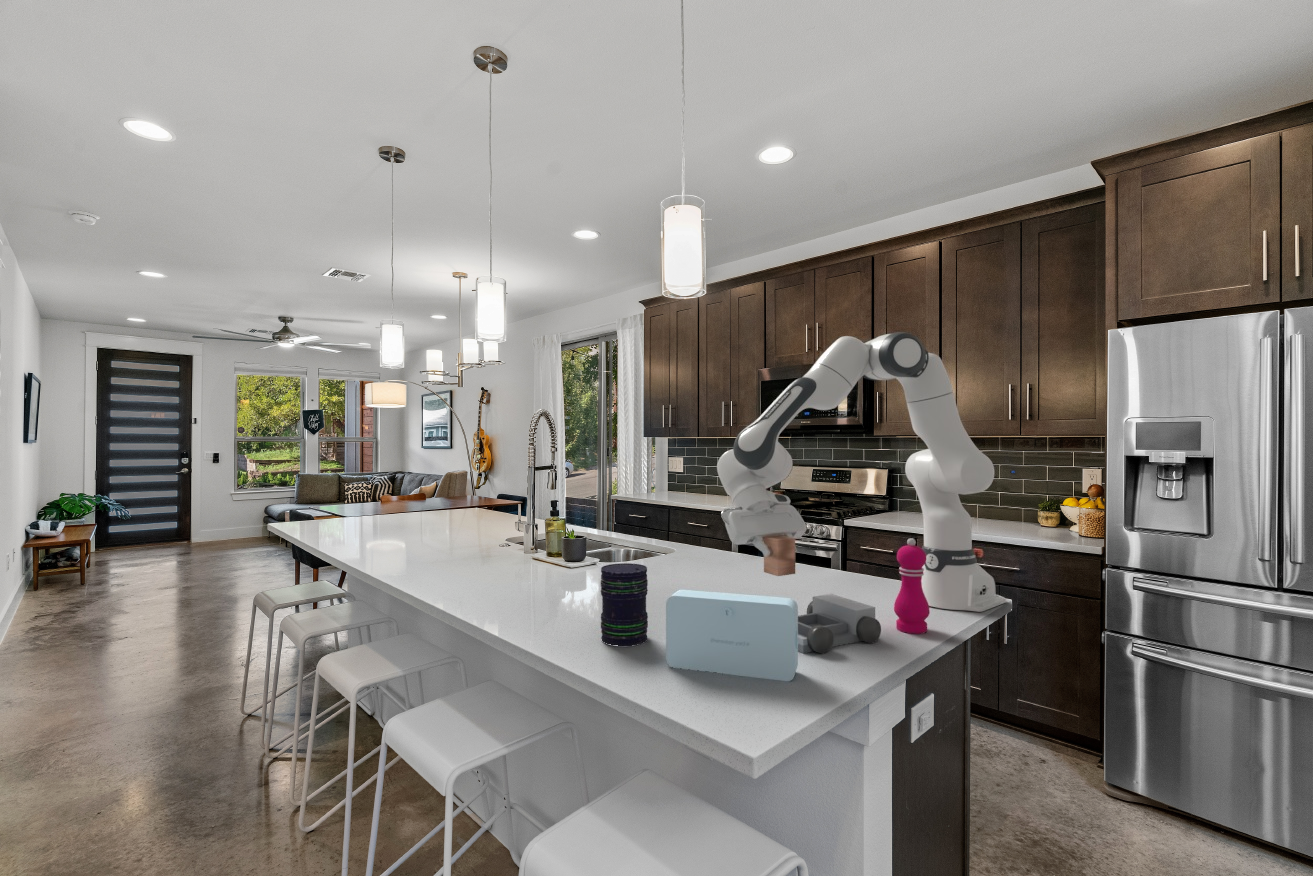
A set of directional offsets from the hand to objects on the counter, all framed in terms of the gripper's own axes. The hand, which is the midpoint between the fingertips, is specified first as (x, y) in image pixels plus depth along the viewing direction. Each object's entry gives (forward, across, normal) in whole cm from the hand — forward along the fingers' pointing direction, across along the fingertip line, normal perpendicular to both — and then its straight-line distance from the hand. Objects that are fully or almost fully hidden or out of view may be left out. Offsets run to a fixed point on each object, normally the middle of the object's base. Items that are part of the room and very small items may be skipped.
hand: (781, 553), depth 144 cm
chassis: (+19, +1, +3) cm, 19 cm away
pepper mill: (+24, +22, -1) cm, 32 cm away
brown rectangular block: (+3, 0, +4) cm, 4 cm away
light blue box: (+24, -26, -2) cm, 36 cm away
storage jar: (+6, -36, +16) cm, 40 cm away
